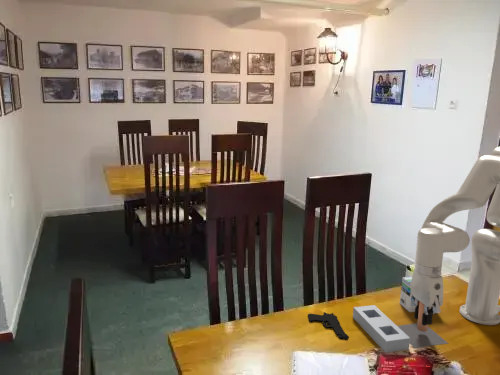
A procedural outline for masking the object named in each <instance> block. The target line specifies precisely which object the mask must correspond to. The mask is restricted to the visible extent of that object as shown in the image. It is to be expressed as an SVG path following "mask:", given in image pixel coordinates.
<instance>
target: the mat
mask: <svg viewBox="0 0 500 375" xmlns="http://www.w3.org/2000/svg"><path fill="white" fill-rule="evenodd" d="M417 323H418V322H414V323H409V324H401V325H397V326H398V327H399V328H400V329H401V330H402V331H403V332H404V333H405V334H406V335H407V336H409V337H410V344H409V345H411V346H412V347H413V349H419V348H425V347H431V346H433V347H434V346H440V345H446V344H447V345H448V344H449V342H448V341H447V340H445V339H444V338H443V337H442V336H440V335H439V334H438V333H437V332H436V331H434V330H433V329H432V328H431V327H429V326H428V327H427V331H425V332H423V331H419V330H418V329H417Z"/></svg>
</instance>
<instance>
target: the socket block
mask: <svg viewBox="0 0 500 375" xmlns="http://www.w3.org/2000/svg"><path fill="white" fill-rule="evenodd" d="M352 319H354V320H355V321H356V322H357V323H358V325H359V326H360V328H362V329H363V330H364V331H365V332H366V333H367V334H368V335H369V337H370V338H371V339H372V340H373V341H374V342H375V343H376V345H378V346H379V348H381V350H382V351H383V352H384V353H389V352H390V353H392V352H398V351H405V350H410V345H411V344H410V337H409V336H407V335H406V334H405V333H404V332H403V331H402V330H401V329H400V328H399V327H398V326H399V325H397V324H396V323H395V322H393V320H391V319H390V318H389V317H388V316H387V315H386V314H385V313H384V312H382V311H381V310H380V309H379V308H378V306H376V305H375V304H373V305H363V306H362V305H361V306H353V310H352Z"/></svg>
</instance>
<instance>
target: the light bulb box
mask: <svg viewBox="0 0 500 375" xmlns="http://www.w3.org/2000/svg"><path fill="white" fill-rule="evenodd" d="M411 280H412V276H407V277H405V276H404V277H403V276H402V279H401V287H400V288H401V290H400V298H399V305H401V306H402V307H403V308H404V309H405V310H406V311H407V312H409V313H415V306H414V299H413V296H412V295H411V293H410V291H411ZM429 309H431V308H429Z"/></svg>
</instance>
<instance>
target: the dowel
mask: <svg viewBox="0 0 500 375" xmlns="http://www.w3.org/2000/svg"><path fill="white" fill-rule="evenodd" d="M424 306H425V305H424V304H423V303H422V302H420V301H419V312H418V319H417V322H416V323H417V329H418V330H419V331H423V332H425V331H427V327H429V325H422V316H423V313H424ZM428 310H429V307H428Z"/></svg>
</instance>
